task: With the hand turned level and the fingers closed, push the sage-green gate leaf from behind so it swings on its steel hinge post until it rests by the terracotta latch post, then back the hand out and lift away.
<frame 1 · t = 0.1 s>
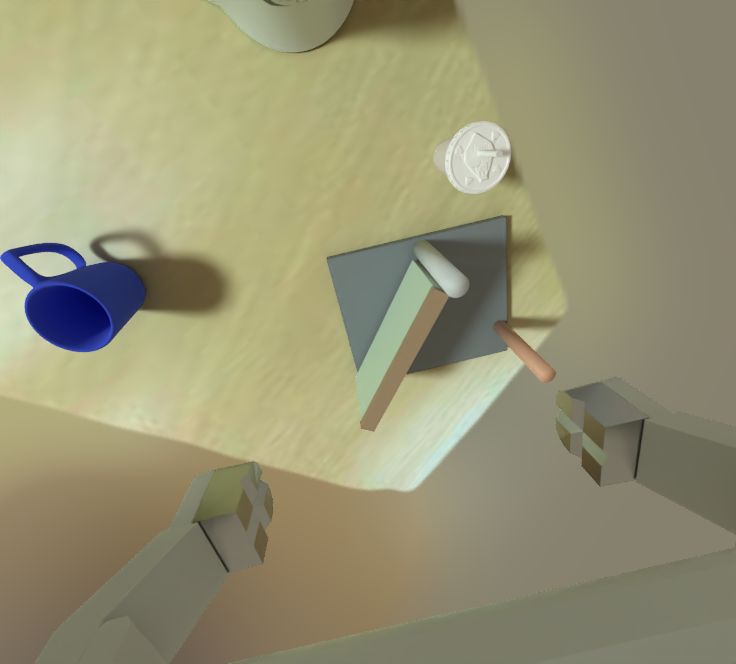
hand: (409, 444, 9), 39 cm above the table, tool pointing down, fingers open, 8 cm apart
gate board: (424, 306, 51), on the table
gate leaf: (393, 344, 45), point 8 cm above the table, hinge at -35.0°
smoothie: (448, 156, 42), on the table
mug: (108, 272, 44), on the table
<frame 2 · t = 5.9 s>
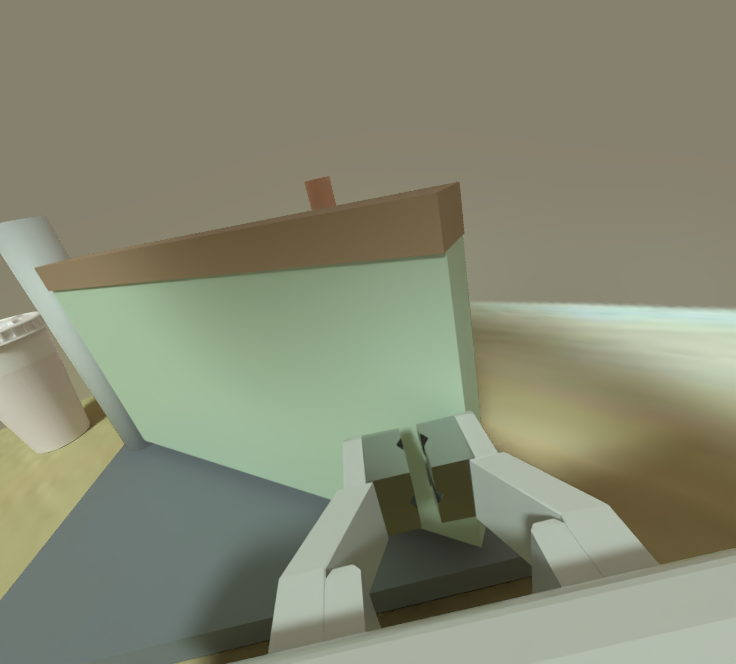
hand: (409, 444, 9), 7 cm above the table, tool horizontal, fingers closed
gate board: (284, 424, 23), on the table
gate leaf: (230, 369, 14), point 8 cm above the table, hinge at -33.0°, touching gripper
smoothie: (65, 438, 28), on the table
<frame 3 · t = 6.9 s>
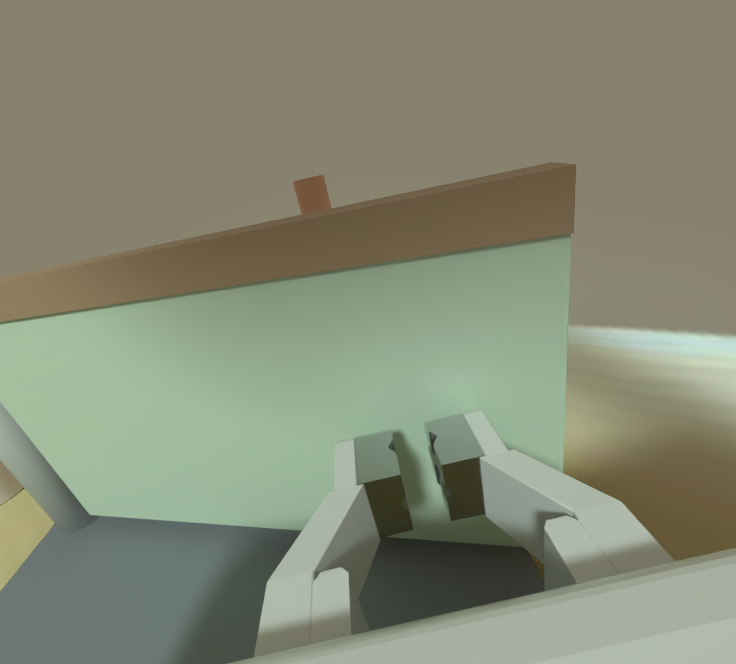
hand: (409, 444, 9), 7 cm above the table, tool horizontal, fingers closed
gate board: (265, 492, 18), on the table
gate leaf: (236, 403, 12), point 8 cm above the table, hinge at -18.7°, touching gripper
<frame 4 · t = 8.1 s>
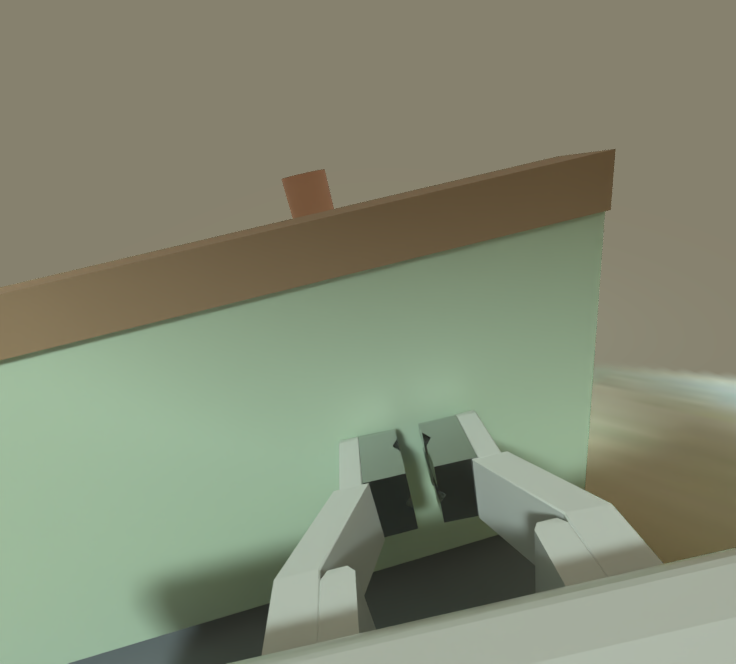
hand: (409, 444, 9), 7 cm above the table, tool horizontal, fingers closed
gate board: (234, 660, 12), on the table
gate leaf: (237, 451, 10), point 7 cm above the table, hinge at 3.0°, touching gripper
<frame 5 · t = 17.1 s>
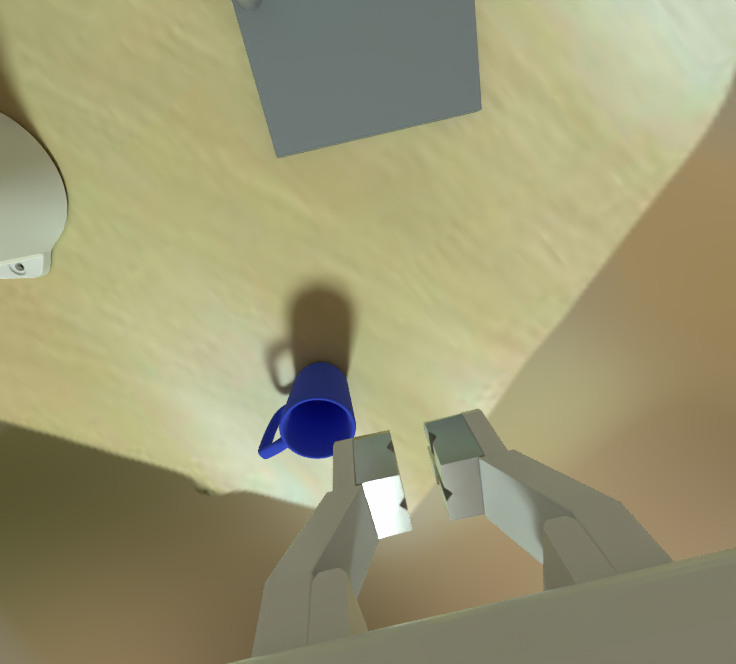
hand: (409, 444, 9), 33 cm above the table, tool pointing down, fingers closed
mug: (309, 387, 47), on the table
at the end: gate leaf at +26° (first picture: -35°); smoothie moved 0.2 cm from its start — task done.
